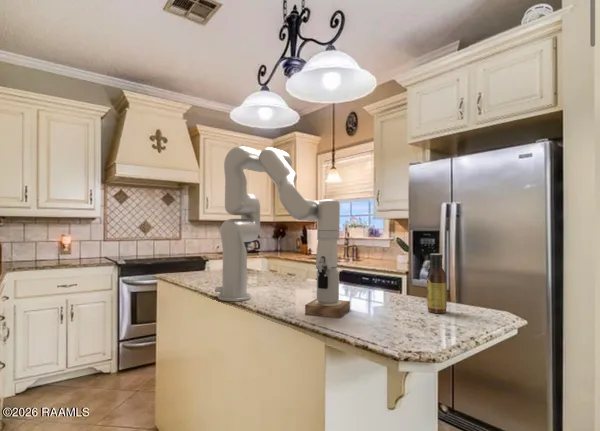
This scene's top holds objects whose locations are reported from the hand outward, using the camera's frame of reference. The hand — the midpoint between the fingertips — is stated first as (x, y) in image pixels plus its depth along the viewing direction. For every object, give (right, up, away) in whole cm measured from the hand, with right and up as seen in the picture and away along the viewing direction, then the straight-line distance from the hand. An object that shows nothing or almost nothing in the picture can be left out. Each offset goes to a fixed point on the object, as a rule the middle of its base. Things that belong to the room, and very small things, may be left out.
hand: (327, 286), depth 125 cm
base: (0, -9, 0) cm, 9 cm away
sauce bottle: (+37, -9, 0) cm, 38 cm away
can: (0, -6, 0) cm, 6 cm away
